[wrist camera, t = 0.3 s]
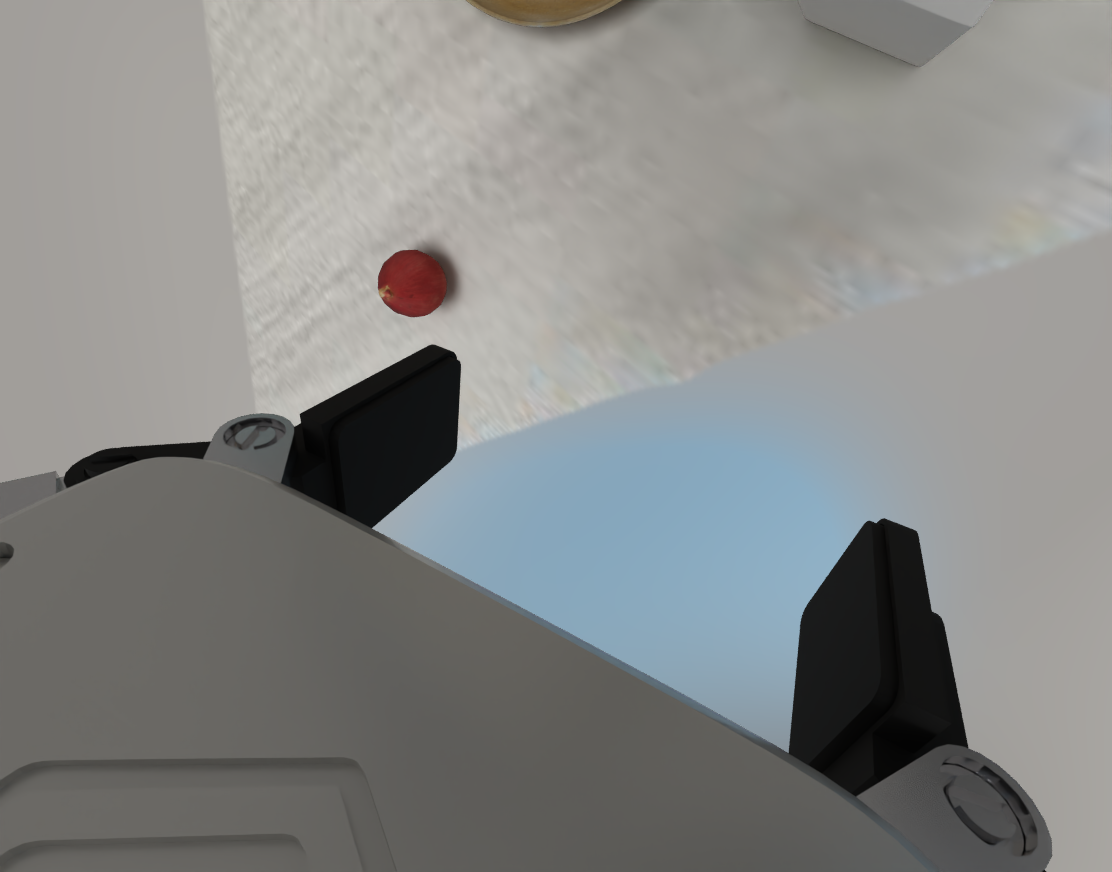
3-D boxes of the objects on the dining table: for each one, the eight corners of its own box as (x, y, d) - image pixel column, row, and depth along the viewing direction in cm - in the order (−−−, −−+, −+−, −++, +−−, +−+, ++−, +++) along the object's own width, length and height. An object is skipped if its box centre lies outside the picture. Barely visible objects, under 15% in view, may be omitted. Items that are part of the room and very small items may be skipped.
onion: (449, 317, 51) (394, 343, 45) (406, 278, 51) (346, 299, 45) (472, 271, 47) (417, 293, 41) (426, 229, 47) (364, 245, 41)
